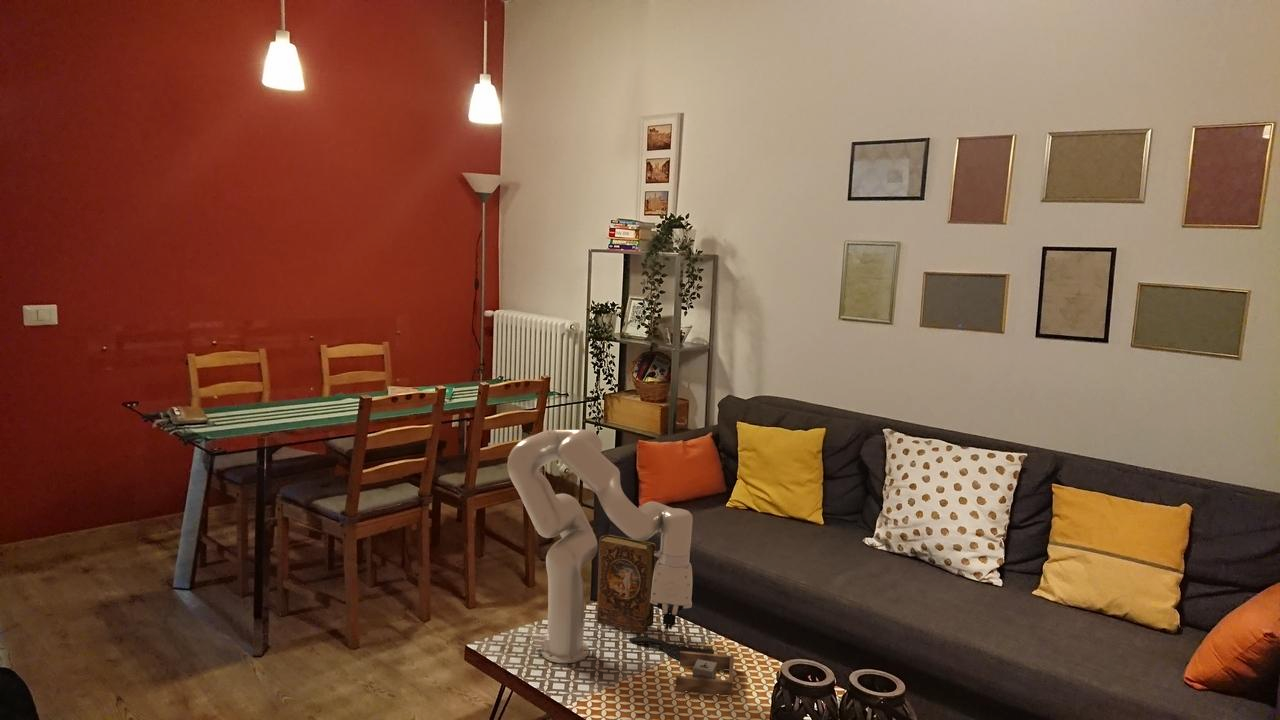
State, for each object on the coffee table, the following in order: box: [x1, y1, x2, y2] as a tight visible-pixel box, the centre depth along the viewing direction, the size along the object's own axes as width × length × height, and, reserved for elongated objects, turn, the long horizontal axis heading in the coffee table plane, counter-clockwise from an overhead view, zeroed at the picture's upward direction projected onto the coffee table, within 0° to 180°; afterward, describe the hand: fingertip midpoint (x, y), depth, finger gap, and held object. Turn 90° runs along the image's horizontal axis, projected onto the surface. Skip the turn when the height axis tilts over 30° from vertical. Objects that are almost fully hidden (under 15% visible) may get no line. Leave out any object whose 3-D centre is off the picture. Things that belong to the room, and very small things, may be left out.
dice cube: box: [692, 659, 718, 679], centre depth 209 cm, size 5×5×5 cm
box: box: [675, 651, 735, 697], centre depth 211 cm, size 14×14×4 cm
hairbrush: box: [628, 635, 715, 662], centre depth 226 cm, size 8×4×25 cm
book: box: [596, 534, 657, 634], centre depth 240 cm, size 16×6×25 cm, turn 66°
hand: (668, 626), depth 211 cm, fingers closed
